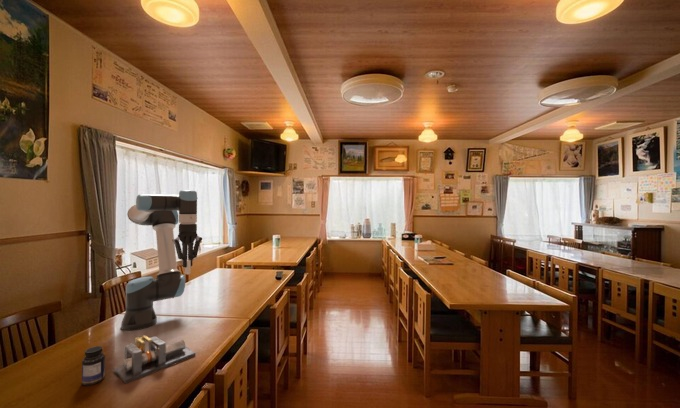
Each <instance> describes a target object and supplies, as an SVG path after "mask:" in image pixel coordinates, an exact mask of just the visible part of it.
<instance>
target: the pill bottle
mask: <svg viewBox="0 0 680 408" xmlns="http://www.w3.org/2000/svg"><path fill="white" fill-rule="evenodd" d="M105 368H106V355H105V353H104V352H103V346H100V345H99V346H98V345H95V346H91V347H88V348H87V349H85V350H84V358H82V360H81V385H82V386H92V385H95V384H98V383H100V382H101V381H103V380H104V378H105V377H106V376H105V374H106V372H105V370H106V369H105Z"/></svg>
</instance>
